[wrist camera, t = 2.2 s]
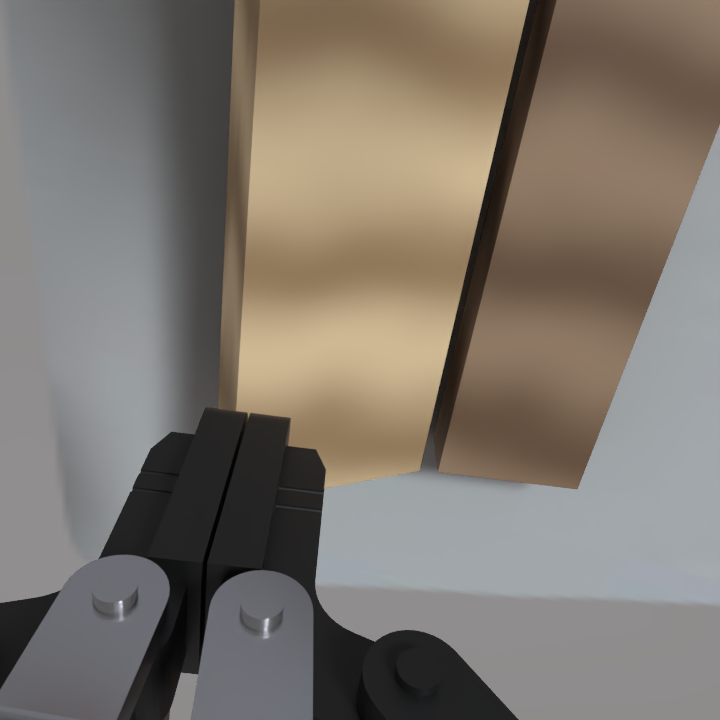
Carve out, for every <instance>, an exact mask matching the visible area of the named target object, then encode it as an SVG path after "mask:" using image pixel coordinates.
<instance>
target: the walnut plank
mask: <svg viewBox="0 0 720 720" xmlns="http://www.w3.org/2000/svg"><path fill="white" fill-rule="evenodd" d="M719 124H720V0H538V3H537V7H536V12H535V16H534V20H533V24H532V28H531V32H530V37H529V41H528V45H527V49H526V53H525V57H524V62H523V66H522V70H521V74H520V78H519V82H518V87H517V91H516V95H515V99H514V103H513V107H512V112H511V116H510V120H509V124H508V128H507V133H506V137H505V141H504V145H503V149H502V153H501V158H500V162H499V166H498V170H497V174H496V178H495V183H494V187H493V191H492V195H491V199H490V203H489V208H488V212H487V216H486V220H485V224H484V228H483V233H482V237H481V241H480V245H479V249H478V253H477V258H476V262H475V266H474V270H473V274H472V279H471V283H470V287H469V291H468V295H467V299H466V304H465V308H464V312H463V316H462V320H461V324H460V329H459V333H458V337H457V341H456V345H455V349H454V354H453V358H452V362H451V366H450V370H449V374H448V379H447V383H446V387H445V391H444V395H443V399H442V404H441V408H440V412H439V416H438V420H437V425H436V429H435V433H434V443H435V452H436V460H437V468H438V472H442V473H450V474H458V475H466V476H474V477H482V478H491V479H499V480H507V481H515V482H523V483H531V484H539V485H547V486H555V487H563V488H571V489H578V486H579V484H580V481H581V479H582V476H583V474H584V471H585V468H586V466H587V463H588V461H589V458H590V456H591V453H592V450H593V448H594V445H595V443H596V440H597V438H598V435H599V432H600V430H601V427H602V425H603V422H604V420H605V417H606V414H607V412H608V409H609V407H610V404H611V402H612V399H613V397H614V394H615V391H616V389H617V386H618V384H619V381H620V379H621V376H622V373H623V371H624V368H625V366H626V363H627V361H628V358H629V355H630V353H631V350H632V348H633V345H634V343H635V340H636V337H637V335H638V332H639V330H640V327H641V325H642V322H643V320H644V317H645V314H646V312H647V309H648V307H649V304H650V302H651V299H652V296H653V294H654V291H655V289H656V286H657V284H658V281H659V278H660V276H661V273H662V271H663V268H664V266H665V263H666V260H667V258H668V255H669V253H670V250H671V248H672V245H673V243H674V240H675V237H676V235H677V232H678V230H679V227H680V225H681V222H682V219H683V217H684V214H685V212H686V209H687V207H688V204H689V201H690V199H691V196H692V194H693V191H694V189H695V186H696V183H697V181H698V178H699V176H700V173H701V171H702V168H703V166H704V163H705V160H706V158H707V155H708V153H709V150H710V148H711V145H712V142H713V140H714V137H715V135H716V132H717V130H718V127H719Z"/></svg>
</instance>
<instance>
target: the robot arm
mask: <svg viewBox="0 0 720 720" xmlns="http://www.w3.org/2000/svg"><path fill="white" fill-rule="evenodd" d="M290 424H291V418H288V417H280V416H272V415H264V414H256V413H250V415H249V418H248V413H247V412H239V411H231V410H223V409H215V408H206V409H205V410H204V413H203V415H202V418H201V420H200V423H199V425H198V428H197V431H196V433H195V435H193V434H185V433H177V432H171V433H170V434H168V435H167V436H166V437H165V438H163V439H162V440H161V441H160V442H158V443H157V444H156V445H155V446H154V447H152V448H151V450H150V452H149V454H148V456H147V458H146V460H145V462H144V464H143V466H142V469H141V473H140V474H139V475H138V477H137V479H136V481H135V483H134V486H133V490H132V492H130V494H129V496H128V498H127V500H126V503H125V505H124V507H123V509H122V511H121V513H120V515H119V517H118V519H117V522H116V524H115V526H114V528H113V530H112V532H111V534H110V536H109V539H108V541H107V543H106V545H105V547H104V549H103V551H102V553H101V556H100V557H99V559H98V560H95V561H93V562H90V563H89V564H87V565H85V566H83V567H82V568H80V569H79V570H78V571H76V572H75V573H74V574H73V575H72V576H71V577H70V578H69V579H68V581H67V582H66V583H65V585H64V586H63V588H62V590H60V591H58V592H55V593H52V594H49V595H46V596H42V597H37V598H31V599H25V600H18V601H11V602H5V603H0V720H169V716H170V708H171V705H172V702H173V699H174V695H175V692H176V688H177V685H178V681H179V678H180V674H181V672H182V673H192V674H198V679H197V685H196V691H195V698H194V703H193V709H192V715H191V720H518V719H517V718H516V717H515V715H514V714H513V713H512V712H511V711H510V710H509V709H508V708H507V707H506V706H505V705H504V704H503V702H502V701H501V700H500V699H499V698H498V697H497V696H496V695H495V694H494V693H493V692H492V690H491V689H490V688H489V687H488V686H487V685H486V684H485V683H484V682H483V681H482V680H481V678H480V677H479V676H478V675H477V674H476V673H475V672H474V671H473V670H472V669H471V668H470V667H469V665H468V664H467V663H466V662H465V661H464V660H463V659H462V658H461V657H460V656H459V655H458V654H457V652H456V651H455V650H454V649H453V648H451V647H450V646H449V645H448V644H447V643H445V642H444V641H442V640H441V639H439V638H437V637H435V636H433V635H430V634H427V633H424V632H420V631H414V630H403V631H396V632H392V633H389V634H387V635H385V636H383V637H381V638H380V639H378V640H377V641H376V642H374V641H372V640H369V639H367V638H365V637H362V636H360V635H358V634H355V633H353V632H351V631H349V630H347V629H345V628H343V627H342V626H340V625H339V624H337V623H336V622H335V621H334V620H333V619H331V618H330V617H329V616H328V614H327V613H326V612H325V611H324V609H323V608H322V606H321V605H320V603H319V600H318V598H317V595H316V590H315V577H316V567H317V557H318V546H319V536H320V526H321V516H322V506H323V495H324V485H325V475H326V469H325V467H324V464H323V462H322V460H321V458H320V456H319V454H318V452H317V450H316V449H309V448H300V447H292V446H288V443H289V434H290Z"/></svg>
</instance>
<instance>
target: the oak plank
mask: <svg viewBox="0 0 720 720" xmlns="http://www.w3.org/2000/svg"><path fill="white" fill-rule="evenodd" d="M529 1H530V0H235V6H234V30H233V54H232V78H231V102H230V126H229V150H228V174H227V198H226V222H225V246H224V270H223V294H222V318H221V342H220V366H219V390H218V409H223V410H231V411H239V412H247V413H248V418H249V415H250V413H256V414H264V415H272V416H280V417H288V418H291V424H290V434H289V443H288V446H292V447H300V448H309V449H316V450H317V452H318V454H319V456H320V458H321V460H322V462H323V464H324V467H325V469H326V475H325V485H324V488H329V487H334V486H340V485H345V484H351V483H356V482H362V481H367V480H372V479H378V478H383V477H389V476H394V475H400V474H405V473H411V472H416V471H419V470H420V466H421V462H422V458H423V453H424V449H425V445H426V441H427V436H428V432H429V428H430V423H431V419H432V415H433V411H434V406H435V402H436V398H437V394H438V389H439V385H440V381H441V376H442V372H443V368H444V364H445V359H446V355H447V351H448V347H449V342H450V338H451V334H452V329H453V325H454V321H455V317H456V312H457V308H458V304H459V300H460V295H461V291H462V287H463V282H464V278H465V274H466V270H467V265H468V261H469V257H470V253H471V248H472V244H473V240H474V236H475V231H476V227H477V223H478V218H479V214H480V210H481V206H482V201H483V197H484V193H485V189H486V184H487V180H488V176H489V171H490V167H491V163H492V159H493V154H494V150H495V146H496V142H497V137H498V133H499V129H500V124H501V120H502V116H503V112H504V107H505V103H506V99H507V95H508V90H509V86H510V82H511V77H512V73H513V69H514V65H515V60H516V56H517V52H518V48H519V43H520V39H521V35H522V30H523V26H524V22H525V18H526V13H527V9H528V5H529Z"/></svg>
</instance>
